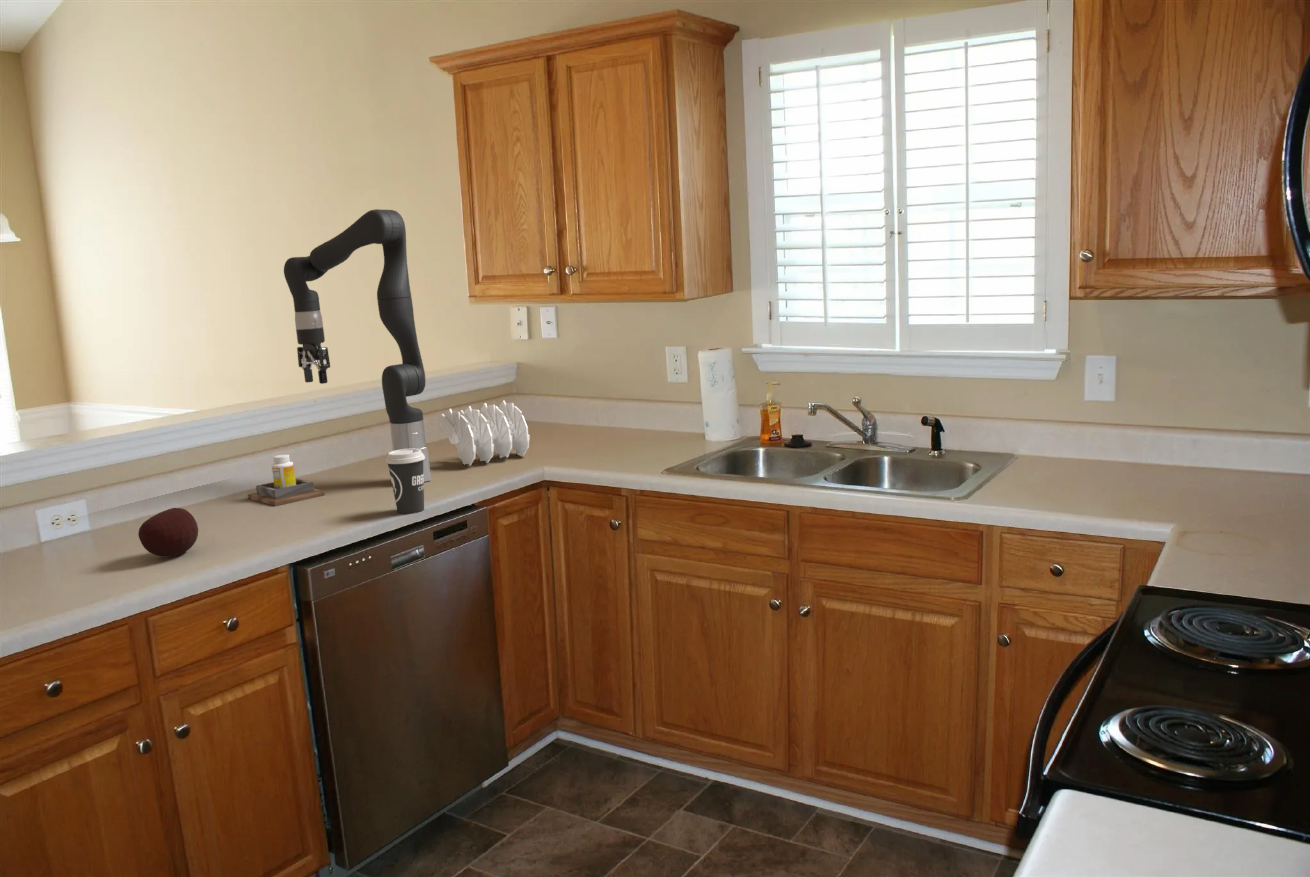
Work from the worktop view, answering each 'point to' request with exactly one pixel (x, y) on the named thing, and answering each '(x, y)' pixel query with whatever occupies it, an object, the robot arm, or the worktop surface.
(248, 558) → the worktop surface
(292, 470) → the supplement bottle
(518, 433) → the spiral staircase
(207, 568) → the worktop surface
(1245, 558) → the worktop surface
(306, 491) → the holder
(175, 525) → the potato
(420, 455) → the coffee cup
